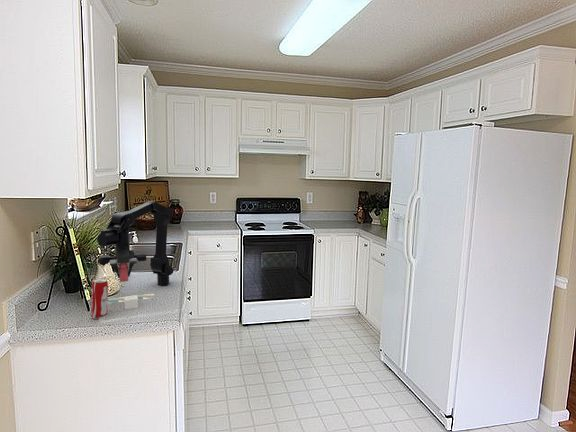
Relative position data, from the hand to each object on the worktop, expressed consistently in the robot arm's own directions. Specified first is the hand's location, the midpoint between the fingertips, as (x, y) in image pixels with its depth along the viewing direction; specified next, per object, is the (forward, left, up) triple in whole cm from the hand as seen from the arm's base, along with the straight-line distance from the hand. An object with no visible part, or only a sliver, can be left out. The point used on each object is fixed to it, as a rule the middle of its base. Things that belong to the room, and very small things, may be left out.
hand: (123, 277), depth 168 cm
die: (+10, +2, -11) cm, 15 cm away
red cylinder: (0, 0, -2) cm, 2 cm away
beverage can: (+14, -10, -11) cm, 20 cm away
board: (0, +2, -11) cm, 11 cm away
